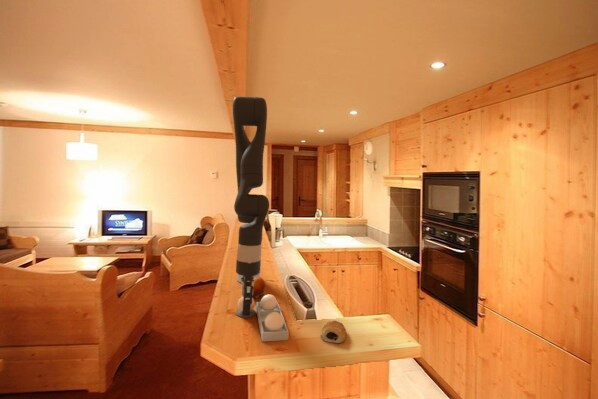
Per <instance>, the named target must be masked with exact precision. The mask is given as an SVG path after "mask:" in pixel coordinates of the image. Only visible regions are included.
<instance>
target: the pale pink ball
mask: <svg viewBox="0 0 598 399" xmlns="http://www.w3.org/2000/svg"><path fill="white" fill-rule="evenodd" d="M247 299H250V298H245V300H247ZM237 308H238V309H239V310H240V311H241V312H243V295H241V297H240V298H239V299H238V301H237ZM254 308H255V299H254V298H252V304H251V305H250V311H251V310H252V309H254Z"/></svg>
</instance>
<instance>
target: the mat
mask: <svg viewBox="0 0 598 399" xmlns="http://www.w3.org/2000/svg"><path fill="white" fill-rule="evenodd" d="M235 314H236V316H237V317H238V318H244V319H245V318H251V317H254V316H255V315H256V309H254V308H253V309H252V310H251V311H250V315H247V316H244V315H243V312H241V311H240V310H239V308H238V309H237V310H236V312H235Z"/></svg>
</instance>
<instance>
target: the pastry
mask: <svg viewBox="0 0 598 399" xmlns="http://www.w3.org/2000/svg"><path fill="white" fill-rule="evenodd" d="M320 339H321V340H322V341H324V342H328V343H335V344H342V343H345V341H346V339H347V330H346V327H345V326H344V324H343V323H342V322H339V321H337V320H332V321H329V322H326V323H325V324H324V326H323V327H322V328H321V333H320Z"/></svg>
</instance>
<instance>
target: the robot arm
mask: <svg viewBox="0 0 598 399" xmlns="http://www.w3.org/2000/svg"><path fill="white" fill-rule="evenodd" d="M267 106H268V104H267V101H266V99H265V98H263V97H259V96H258V97H257V96H235V97H234V98H233V100H232V118H233V119H232V120H233V130H234V138H235V139H234V140H235V170H236V183H237V195H236V198H235V201H234V205H233V209H234V212H235V214H236V215H237V220H238V221H239V223H243V224H241V225H240V226H239V228H238V239H237V240H238V241H237V249H236V261H235V262H236V264H235V273H236V274H237V278H236V280H237V282H238V283H240V289H241V296H243V315H244V316H247V315H250V305H251V304H252V295H253V286H254V277H256V276H257V277H261V266H262V265H261V264H262V247H263V246H262V245H263V244H262V243H263V228H264V224H265V222H266V219H267V218H266V217H267V215H268V213H269V210H270V200H269V198H268V197H267V196H266V195H264V194H257V193H256V194H253V193H250V192H251V191H252V190H253V189H256V188H257V189H258V188H260V187H262V186H263V184H264V152H265V151H264V150H265V145H266V144H265V143H266V133H267V132H266V131H267V123H268V122H267V120H268V107H267ZM245 126H246V127H256V131H255V135H254V137H253V138H252V140H249V137H248V136H247V133H246V130H245ZM245 298H250V299H247V300H245Z"/></svg>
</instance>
